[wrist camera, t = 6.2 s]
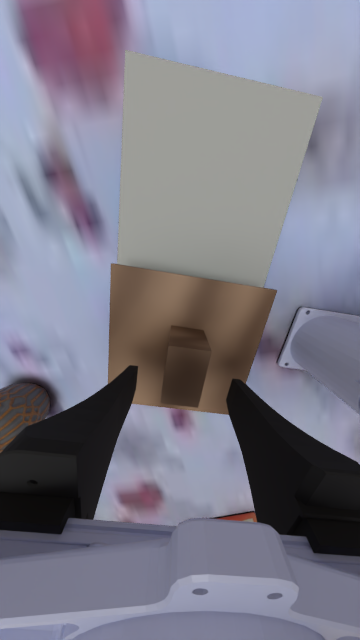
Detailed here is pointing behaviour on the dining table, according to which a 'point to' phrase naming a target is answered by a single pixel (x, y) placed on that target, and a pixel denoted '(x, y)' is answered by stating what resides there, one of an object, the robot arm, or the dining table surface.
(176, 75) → the mat
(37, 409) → the brown egg-shaped piece
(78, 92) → the dining table surface
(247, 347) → the lid
